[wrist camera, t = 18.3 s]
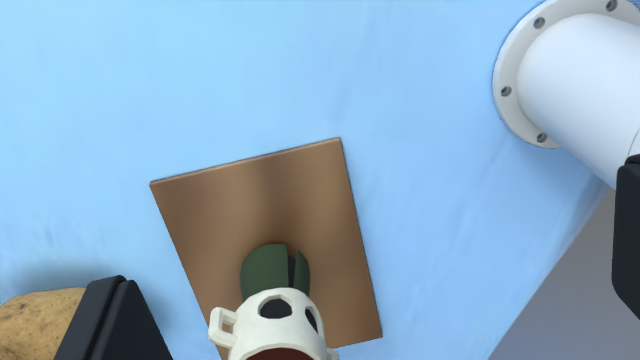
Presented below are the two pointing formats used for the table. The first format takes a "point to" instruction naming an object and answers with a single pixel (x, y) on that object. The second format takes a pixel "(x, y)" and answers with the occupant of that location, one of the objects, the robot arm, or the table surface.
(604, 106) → the robot arm
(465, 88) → the table surface
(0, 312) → the potato
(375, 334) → the placemat
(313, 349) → the character mug
